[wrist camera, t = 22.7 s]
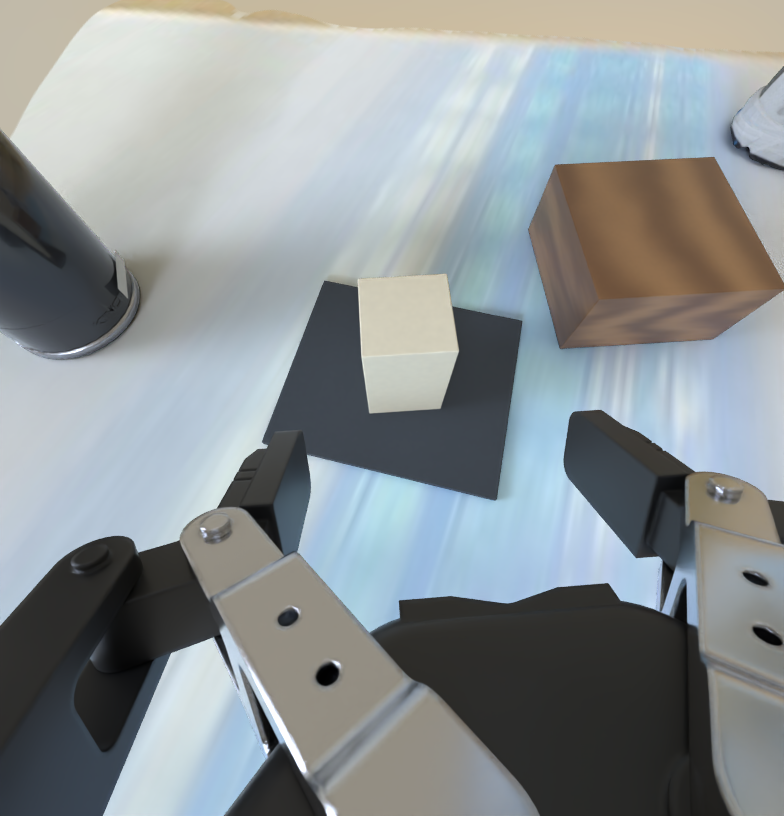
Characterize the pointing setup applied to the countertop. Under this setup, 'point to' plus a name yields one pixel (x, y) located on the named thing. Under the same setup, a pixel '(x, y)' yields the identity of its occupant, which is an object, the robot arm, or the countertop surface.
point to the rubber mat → (406, 430)
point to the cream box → (406, 341)
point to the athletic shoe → (763, 124)
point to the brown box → (647, 253)
